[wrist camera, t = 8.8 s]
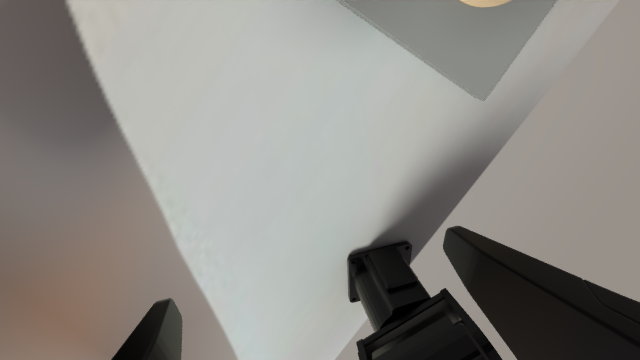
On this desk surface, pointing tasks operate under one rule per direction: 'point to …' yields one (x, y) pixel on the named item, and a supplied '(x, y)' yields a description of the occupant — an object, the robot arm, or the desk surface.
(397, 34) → the slate board
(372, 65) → the desk surface
